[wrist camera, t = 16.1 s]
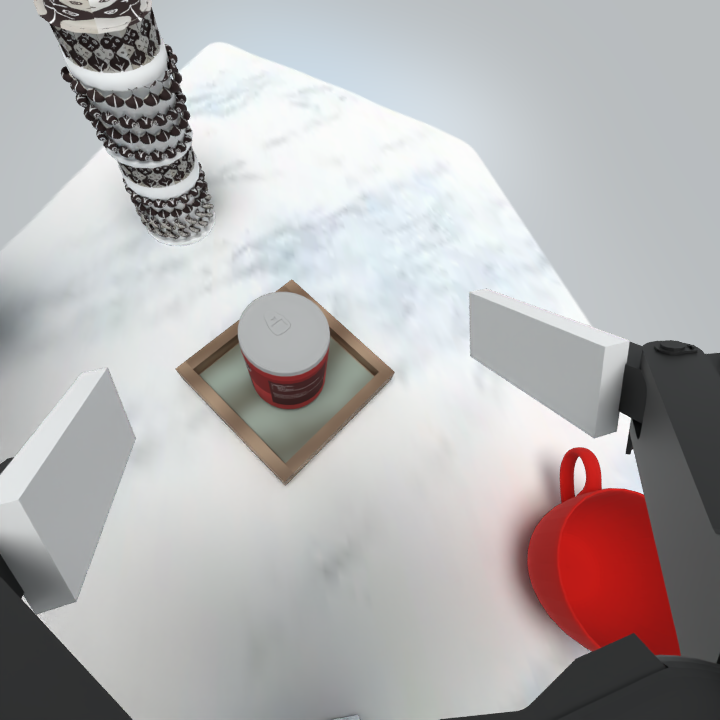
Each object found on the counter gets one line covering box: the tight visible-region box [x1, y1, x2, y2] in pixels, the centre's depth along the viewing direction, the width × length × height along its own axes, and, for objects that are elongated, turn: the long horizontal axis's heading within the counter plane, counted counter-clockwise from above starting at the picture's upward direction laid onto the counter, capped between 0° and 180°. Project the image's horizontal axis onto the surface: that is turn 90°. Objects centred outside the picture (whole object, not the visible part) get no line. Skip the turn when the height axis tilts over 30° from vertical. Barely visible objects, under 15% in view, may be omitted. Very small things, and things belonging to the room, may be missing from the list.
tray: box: [176, 280, 394, 485], centre depth 45 cm, size 16×16×2 cm
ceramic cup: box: [527, 447, 681, 656], centre depth 38 cm, size 13×17×10 cm
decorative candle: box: [34, 0, 215, 246], centre depth 42 cm, size 9×9×25 cm
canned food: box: [238, 292, 330, 409], centre depth 40 cm, size 8×8×11 cm
